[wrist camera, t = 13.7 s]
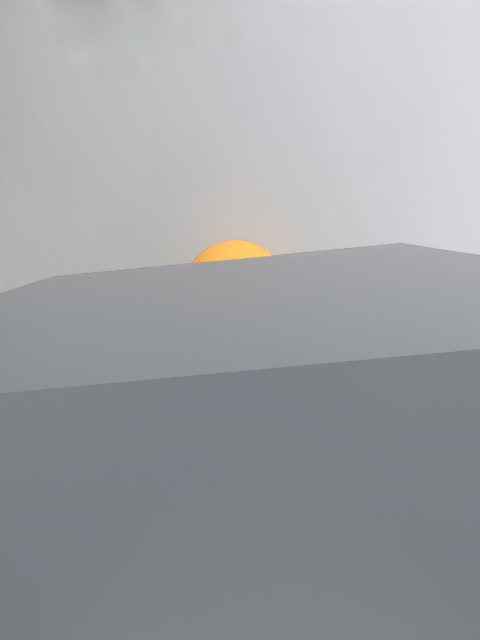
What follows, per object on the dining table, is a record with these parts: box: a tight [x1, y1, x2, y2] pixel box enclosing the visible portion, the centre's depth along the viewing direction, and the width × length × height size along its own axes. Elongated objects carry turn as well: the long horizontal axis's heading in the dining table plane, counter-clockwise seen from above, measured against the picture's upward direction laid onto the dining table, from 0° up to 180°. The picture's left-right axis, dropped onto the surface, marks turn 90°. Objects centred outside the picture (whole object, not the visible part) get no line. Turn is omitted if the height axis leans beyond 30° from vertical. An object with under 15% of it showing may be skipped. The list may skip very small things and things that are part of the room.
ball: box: [192, 240, 272, 263], centre depth 19 cm, size 5×5×5 cm
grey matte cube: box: [0, 243, 480, 640], centre depth 9 cm, size 10×10×9 cm
